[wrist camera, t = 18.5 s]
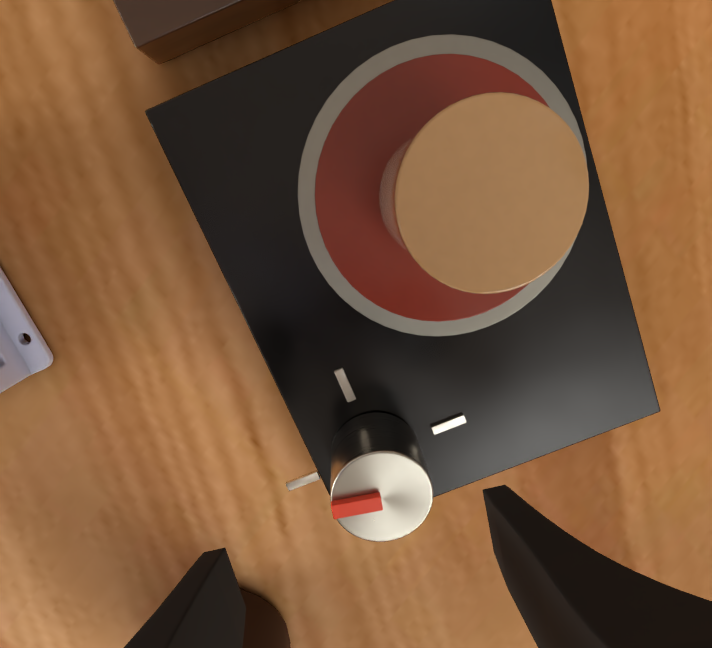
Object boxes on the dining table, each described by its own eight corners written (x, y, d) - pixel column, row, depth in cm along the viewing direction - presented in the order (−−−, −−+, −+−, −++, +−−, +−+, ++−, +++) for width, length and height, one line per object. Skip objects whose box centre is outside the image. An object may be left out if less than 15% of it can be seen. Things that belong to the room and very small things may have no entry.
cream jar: (527, 233, 18) (612, 251, 13) (404, 283, 19) (434, 322, 13) (486, 101, 17) (559, 57, 12) (355, 156, 17) (365, 139, 12)
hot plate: (625, 401, 24) (669, 431, 21) (325, 515, 25) (324, 561, 22) (504, -25, 19) (537, -66, 16) (139, 136, 20) (104, 126, 17)
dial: (411, 403, 20) (426, 446, 17) (425, 482, 21) (442, 537, 18) (322, 420, 20) (320, 467, 17) (340, 498, 21) (341, 556, 18)
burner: (616, 273, 19) (620, 275, 19) (362, 374, 20) (363, 377, 20) (538, -17, 17) (541, -20, 16) (249, 109, 17) (247, 108, 17)
